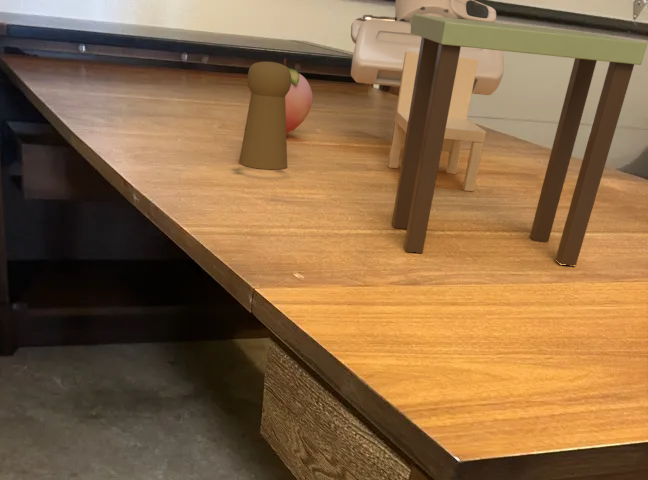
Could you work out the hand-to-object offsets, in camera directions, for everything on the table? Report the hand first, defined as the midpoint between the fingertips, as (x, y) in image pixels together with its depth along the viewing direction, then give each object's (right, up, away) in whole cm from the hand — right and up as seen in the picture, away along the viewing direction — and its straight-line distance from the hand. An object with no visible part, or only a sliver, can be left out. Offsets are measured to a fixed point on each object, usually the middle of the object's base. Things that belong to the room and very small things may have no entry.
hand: (425, 111), depth 108 cm
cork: (-21, -10, -7) cm, 25 cm away
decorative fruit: (-20, +2, +11) cm, 23 cm away
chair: (-1, -11, -5) cm, 12 cm away
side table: (-1, -27, -29) cm, 40 cm away
